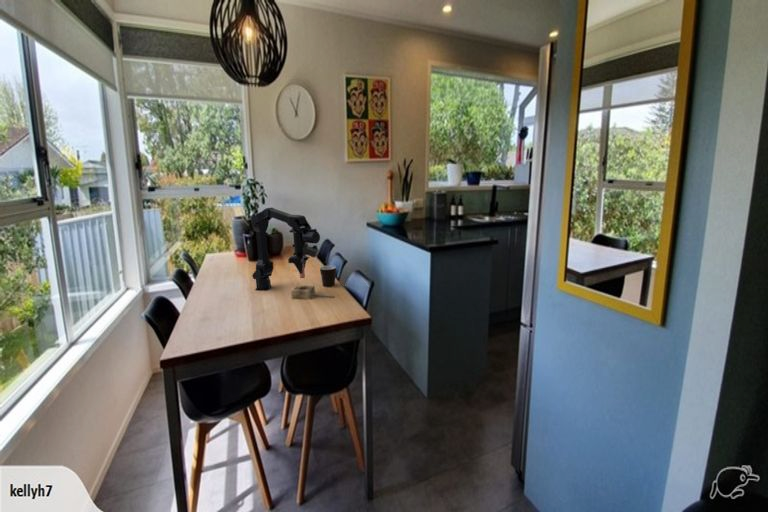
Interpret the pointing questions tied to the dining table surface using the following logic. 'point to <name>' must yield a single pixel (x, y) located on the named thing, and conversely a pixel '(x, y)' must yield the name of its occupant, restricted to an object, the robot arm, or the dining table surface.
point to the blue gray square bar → (324, 296)
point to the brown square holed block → (303, 292)
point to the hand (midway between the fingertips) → (301, 272)
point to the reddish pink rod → (302, 273)
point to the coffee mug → (328, 275)
